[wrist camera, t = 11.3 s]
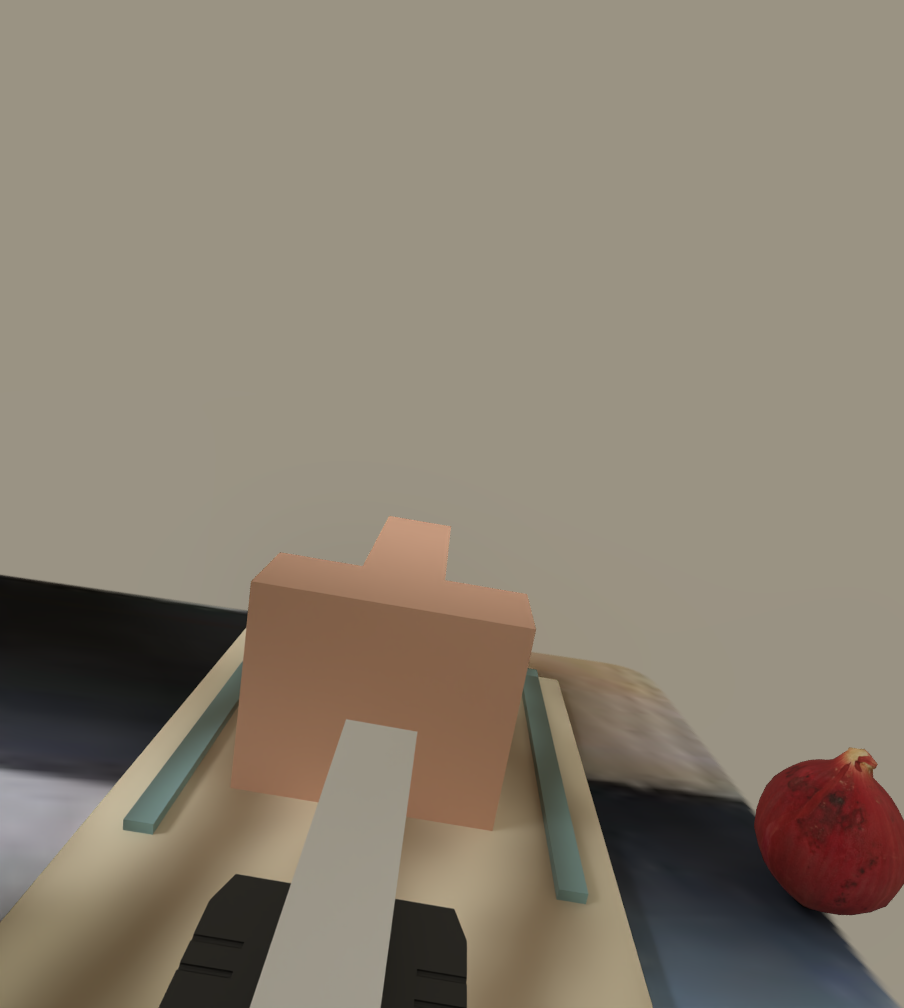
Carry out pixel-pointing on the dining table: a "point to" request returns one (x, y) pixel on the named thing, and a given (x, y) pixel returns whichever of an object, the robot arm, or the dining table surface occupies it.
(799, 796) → the red pomegranate
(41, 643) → the dining table surface
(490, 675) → the tee
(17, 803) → the dining table surface
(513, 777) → the board
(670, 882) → the dining table surface
